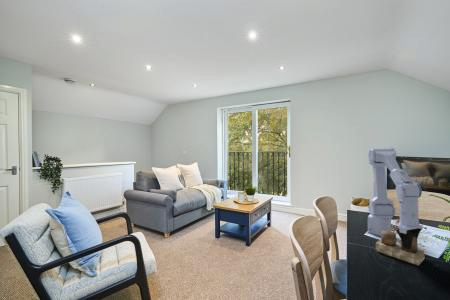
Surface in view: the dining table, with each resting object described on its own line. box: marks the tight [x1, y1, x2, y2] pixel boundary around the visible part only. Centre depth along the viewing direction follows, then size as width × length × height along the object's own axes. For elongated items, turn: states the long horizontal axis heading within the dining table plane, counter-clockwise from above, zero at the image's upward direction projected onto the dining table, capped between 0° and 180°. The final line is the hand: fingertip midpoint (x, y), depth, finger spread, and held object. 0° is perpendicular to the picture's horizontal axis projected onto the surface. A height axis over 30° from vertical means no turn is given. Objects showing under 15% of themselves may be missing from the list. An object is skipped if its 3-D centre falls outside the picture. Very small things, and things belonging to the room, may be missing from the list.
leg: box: [400, 237, 419, 253], centre depth 84 cm, size 5×5×8 cm
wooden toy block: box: [375, 230, 425, 266], centre depth 86 cm, size 14×8×8 cm, turn 33°
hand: (409, 246), depth 83 cm, fingers open, 5 cm apart
